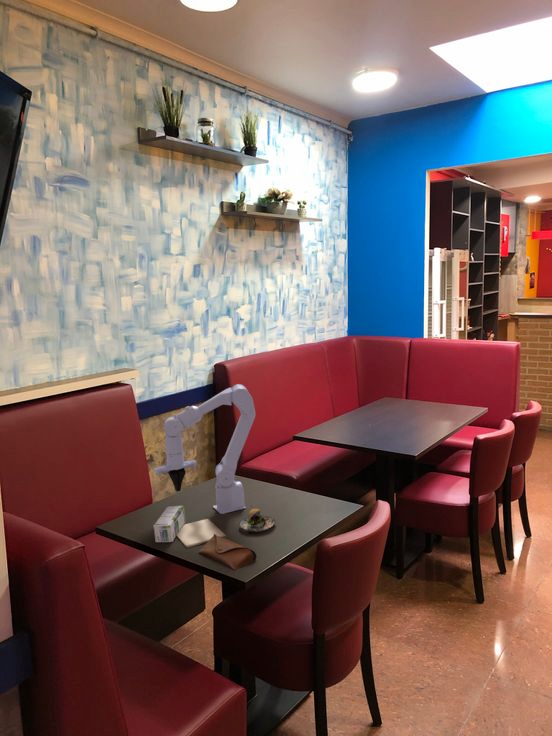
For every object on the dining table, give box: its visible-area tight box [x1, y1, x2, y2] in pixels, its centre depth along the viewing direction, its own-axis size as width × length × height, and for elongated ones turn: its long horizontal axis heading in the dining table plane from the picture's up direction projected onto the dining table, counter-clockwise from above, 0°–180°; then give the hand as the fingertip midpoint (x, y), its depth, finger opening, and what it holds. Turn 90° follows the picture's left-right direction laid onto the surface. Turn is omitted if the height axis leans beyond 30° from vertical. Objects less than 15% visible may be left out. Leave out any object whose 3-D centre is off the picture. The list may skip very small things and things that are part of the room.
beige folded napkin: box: [176, 518, 227, 549], centre depth 186 cm, size 13×16×1 cm
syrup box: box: [153, 505, 186, 543], centre depth 187 cm, size 6×6×14 cm
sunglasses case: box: [196, 534, 257, 571], centre depth 170 cm, size 18×7×7 cm, turn 47°
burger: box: [238, 505, 276, 535], centre depth 189 cm, size 12×12×8 cm
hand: (177, 490), depth 202 cm, fingers closed
